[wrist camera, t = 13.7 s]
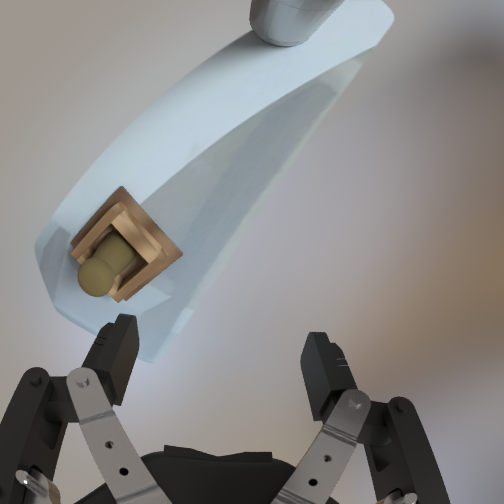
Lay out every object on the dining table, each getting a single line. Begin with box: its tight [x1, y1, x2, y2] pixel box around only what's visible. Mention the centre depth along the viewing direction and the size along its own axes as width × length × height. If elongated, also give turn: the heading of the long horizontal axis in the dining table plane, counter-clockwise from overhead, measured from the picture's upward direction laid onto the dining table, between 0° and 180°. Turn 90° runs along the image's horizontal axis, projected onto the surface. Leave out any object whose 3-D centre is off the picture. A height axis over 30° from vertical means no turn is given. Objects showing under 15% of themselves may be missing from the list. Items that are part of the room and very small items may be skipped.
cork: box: [78, 230, 136, 297], centre depth 37 cm, size 6×6×11 cm
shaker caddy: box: [71, 186, 183, 303], centre depth 40 cm, size 14×14×4 cm
